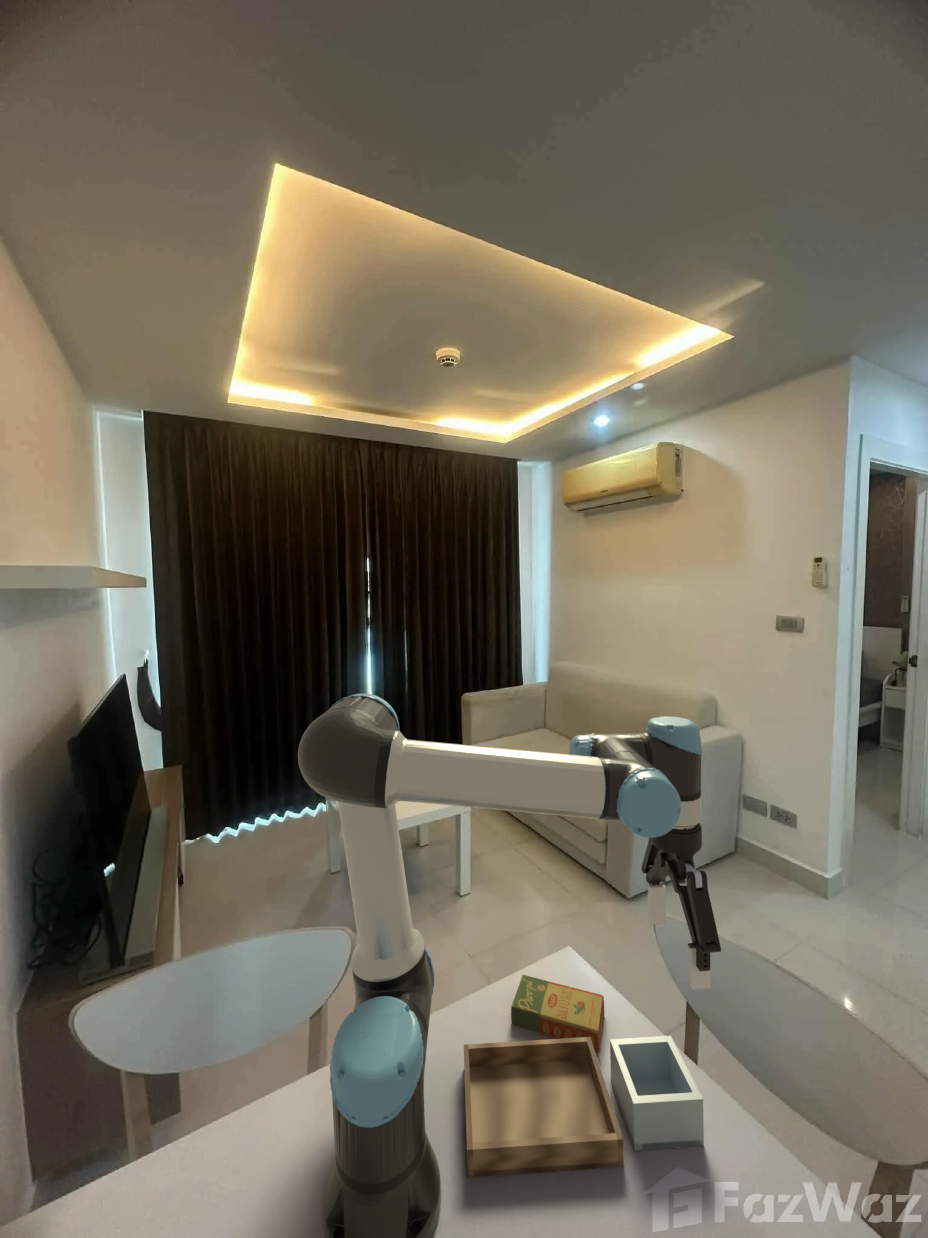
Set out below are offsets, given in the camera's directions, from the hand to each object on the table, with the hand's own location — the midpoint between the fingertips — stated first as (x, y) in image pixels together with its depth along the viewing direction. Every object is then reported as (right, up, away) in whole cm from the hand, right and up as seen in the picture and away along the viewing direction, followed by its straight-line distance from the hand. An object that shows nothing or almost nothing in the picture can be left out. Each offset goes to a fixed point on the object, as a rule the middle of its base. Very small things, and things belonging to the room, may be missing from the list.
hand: (676, 952), depth 75 cm
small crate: (-4, -23, -2) cm, 24 cm away
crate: (-22, -24, -1) cm, 33 cm away
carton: (-16, -23, +15) cm, 32 cm away
